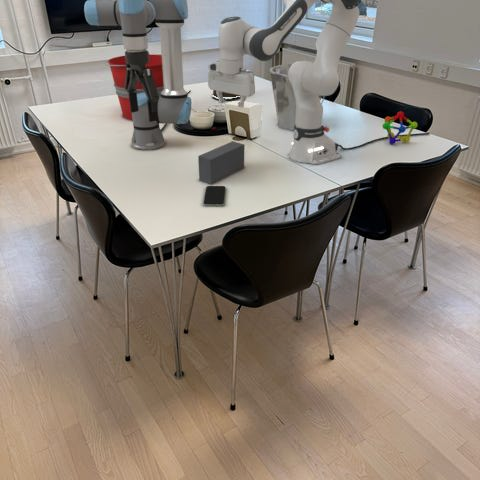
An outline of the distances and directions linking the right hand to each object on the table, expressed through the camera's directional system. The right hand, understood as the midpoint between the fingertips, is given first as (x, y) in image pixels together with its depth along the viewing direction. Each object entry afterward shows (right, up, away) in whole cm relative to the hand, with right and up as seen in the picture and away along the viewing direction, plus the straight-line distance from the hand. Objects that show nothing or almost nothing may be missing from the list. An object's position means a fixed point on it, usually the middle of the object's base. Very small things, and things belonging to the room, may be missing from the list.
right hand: (231, 104), depth 169 cm
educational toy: (+78, -6, +42) cm, 88 cm away
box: (-4, -25, +10) cm, 27 cm away
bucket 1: (-50, +19, +79) cm, 96 cm away
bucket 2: (+33, +9, +64) cm, 73 cm away
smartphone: (-6, -36, -8) cm, 37 cm away
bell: (-5, +39, +112) cm, 119 cm away
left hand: (-30, -9, -16) cm, 35 cm away
